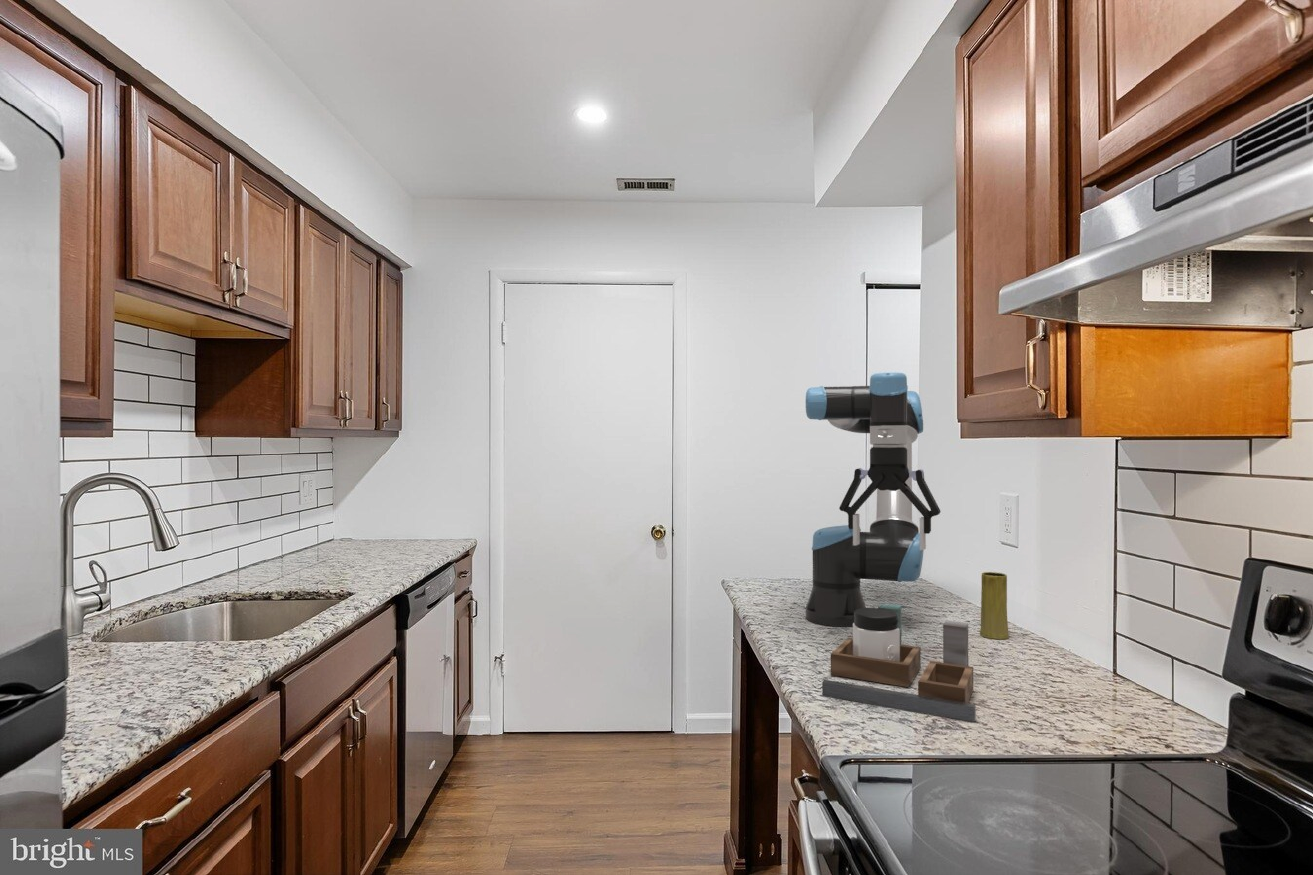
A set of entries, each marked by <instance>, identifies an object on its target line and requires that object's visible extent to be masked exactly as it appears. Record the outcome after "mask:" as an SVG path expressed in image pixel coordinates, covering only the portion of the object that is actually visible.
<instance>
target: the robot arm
mask: <svg viewBox="0 0 1313 875" xmlns="http://www.w3.org/2000/svg"><path fill="white" fill-rule="evenodd" d="M869 378H870V379H869V385H853V386H851V385H850V386H823V385H822V386H821V385H820V386H817V387H813V386H812V387H809V388H808V389H807V390H806V393H805V413H806V416H807V418H808V419H809V420H818V421H824V420H825V421H826V420H827V422H829V424H830V425H832V426H833V427H835V428H837V429H840V430H841V431H842V430H843V431H847V432H850V433H857V434H869V444H870V445H872V447H870V449H869V469H863V468H856V469H854V475H853V480H852V482H851V484H849V485H850V486H849V488H848V489H847V491H846V493H845V495H844V497H843V499H842V502H841V504H840V505H839V506H838V507H839V510H840V511H841V512H844V513H846V514H847V522H848V524H845V525H843V524H842V525H834V526H829V527H823V528H819V529H817V530H816V531H814V533H813V535H812V547H811V551H812V588H811V591H810V595H809V597H808V601H807V602H806V603H807V604H806V607H805V619H806V620H807V621H809V622H811V623H814V624H819V625H824V626H831V627H853V623H854V611H855V610H857V609H860V608H867V607H866V603H865V601H864V600H865V599H864V597H863V594H862V591H861V580H873V581H888V582H898V583H901V582H902V583H903V582H915V581H917V580H918V579H919V578H920V576H921V571H922V568H923V567H922V566H923V560H924V551H925V550H926V546H927V542H926V541H927V540H926V539H927V538H926V534H931V531H932V518H933V517H936V516H938V515H940V514H941V509H940V507H939V506H938V503H937V501H936V499H935V497H934V496H933V493H932V492H931V490H930V488H929V486H928V484H927V482H926V480H925V472H924V470H923V469H922V468H921V469H917V470H913V467H912V466H913V451H912V450H913V447H912V446H913V443H915V442H916V441H917V439H918V437H919V434H922V433H923V432H924V419H923V409H922V403H921V399H920V396H919V394H918V393H917V392H916V391H914V390H908V389H909V387H908V380H907V379H908V378H907V375H906V373H903V372H878V373H874V374H871V376H870V377H869ZM867 476H868V478H869V479H870V480H871V483H870V484H869V485H868V487H867V488H866V489H865V490H864V491H863V492H862V493H861V495H860V496H858V498H857V500H855V501H854V503H853V504H852V505H851V502H852V500H853V498H854V497H855V494H856V492H857V491H858V489H859V486H860V485H861V483H862V480H864V479H865V478H866V477H867ZM913 481H916V483H917V486H918V488H919V490H920V492H921V493H922V496H923V497H924V499H925V501H926V503H927V505H928V507H929V508H928V507H927V506H926V505H925V504H924V503H923V502H922V500H920V498H919V497H918V495H917V494H915V493H914V491H913ZM875 491H876V518H875V519H876V520H875V521H873V522H871V524H870V526H869V531H861V530H862V529H861V527H860V525H861V524H860V513H856V512H858V510H859V509H860V508H861V507H862V506H863V504H864V503H865V502H866V501H867V500H868V499H869V498H870V497H871V496H872V495H873V493H874V492H875ZM913 506H914V507H915V509H917V511H918V512H919V513H920V514H921V515H922V516H921V517H919V526H918V525H917V524H916V523H915V522H914V521H913ZM929 509H930V510H929Z"/></svg>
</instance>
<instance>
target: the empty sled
mask: <svg viewBox="0 0 1313 875" xmlns="http://www.w3.org/2000/svg"><path fill="white" fill-rule="evenodd" d="M942 647H943V648H942V656H943V657H942V662H941V661H933V660H930V661H929V663H928V664H927V666H926V667H925V669H924V671H923V673H922V674H921V676H920V677H919V679H918V680H917V681H918V682H917V693H918V694H917V695H922V696H928V697H934V698H940V699H946V700H952V701H958V702H964V703H970V700H971V696H972V694H973V691H974V666H971V665H970V666H969V622H967V621H966V622H965V621H955V620H946V619H945V621H944V623H943V624H942Z"/></svg>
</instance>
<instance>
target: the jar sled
mask: <svg viewBox="0 0 1313 875" xmlns="http://www.w3.org/2000/svg"><path fill="white" fill-rule="evenodd" d="M877 608H882V609H888V610H892V611H894V612H896V613H897V614H898V628H899V629H900V662H896V661H889V660H882V659H875V658H868V657H861V656H854V655H853V637H847V638H846V639H845V640H844V641H843V642H841V643H840V645H839V646H837V647H836V648H835V649H834V650H833V651H832V652H831V653H830V675H831V676H837V677H842V678H843V677H844V678H848V679H849V678H850V679H854V680H862V681H868V682H874V683H882V684H888V685H894V686H899V687H906V688H909V687H910V685H911V684H912V681H913V680H914V678H916V677H917V676H916V675H917V674H918V672H919V671H920V670H921V664H922V663H921V662H922V660H921V657H922V653H921V649H922V648H921V646H915V645H906V644H902V605H899V604H891V603H890V604H887V603H881V604H880V605H879V606H878V607H877Z"/></svg>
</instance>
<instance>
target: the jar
mask: <svg viewBox="0 0 1313 875" xmlns="http://www.w3.org/2000/svg"><path fill="white" fill-rule="evenodd" d="M852 638H853V655H854V656H861V657H868V658H875V659H882V660H889V661H896V662H900V629H899V628H898V614H897V613H896V612H894V611H892V610H888V609H882V608H878V607H866V608H860V609H857V610H855V611H854V623H853V626H852Z"/></svg>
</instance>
